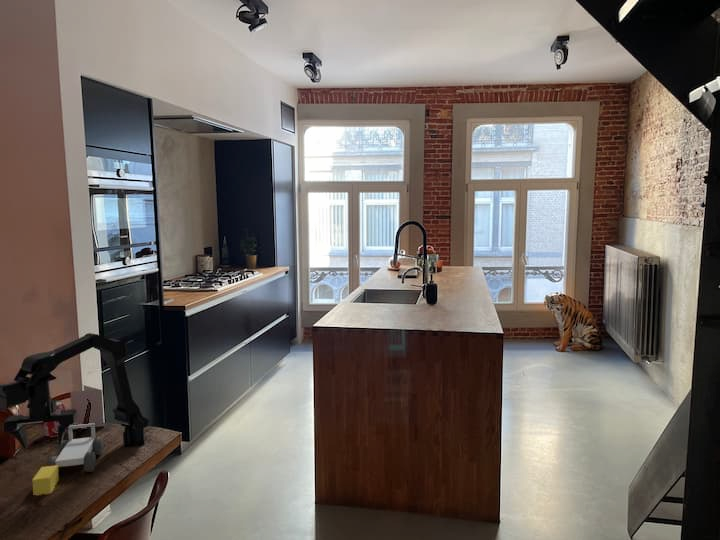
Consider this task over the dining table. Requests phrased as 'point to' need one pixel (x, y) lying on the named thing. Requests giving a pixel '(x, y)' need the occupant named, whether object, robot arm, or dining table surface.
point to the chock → (45, 480)
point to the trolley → (78, 450)
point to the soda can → (52, 427)
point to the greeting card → (81, 403)
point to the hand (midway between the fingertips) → (43, 446)
